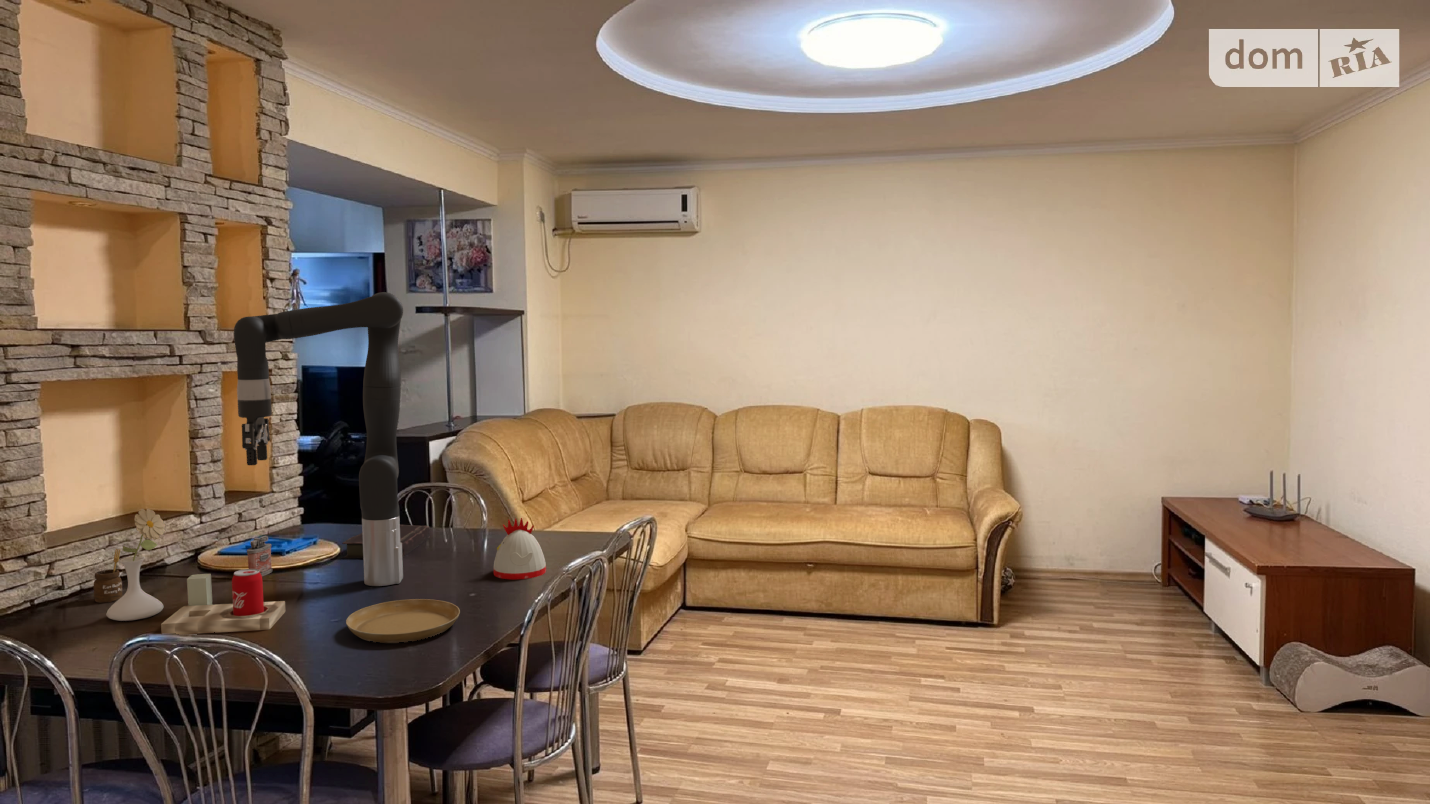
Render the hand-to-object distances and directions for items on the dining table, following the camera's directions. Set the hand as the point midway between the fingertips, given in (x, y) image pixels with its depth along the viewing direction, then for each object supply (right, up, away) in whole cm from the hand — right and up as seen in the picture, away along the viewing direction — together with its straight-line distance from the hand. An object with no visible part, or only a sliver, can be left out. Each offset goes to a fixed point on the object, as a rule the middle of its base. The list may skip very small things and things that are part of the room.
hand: (257, 462), depth 239 cm
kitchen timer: (+61, -31, +21) cm, 72 cm away
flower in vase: (-20, -35, -16) cm, 43 cm away
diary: (+15, -29, +50) cm, 60 cm away
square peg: (-7, -35, -14) cm, 38 cm away
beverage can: (+8, -35, -21) cm, 42 cm away
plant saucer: (+44, -36, -25) cm, 62 cm away
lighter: (-9, -32, +21) cm, 39 cm away
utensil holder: (-36, -34, -2) cm, 49 cm away
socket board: (+3, -35, -22) cm, 42 cm away
